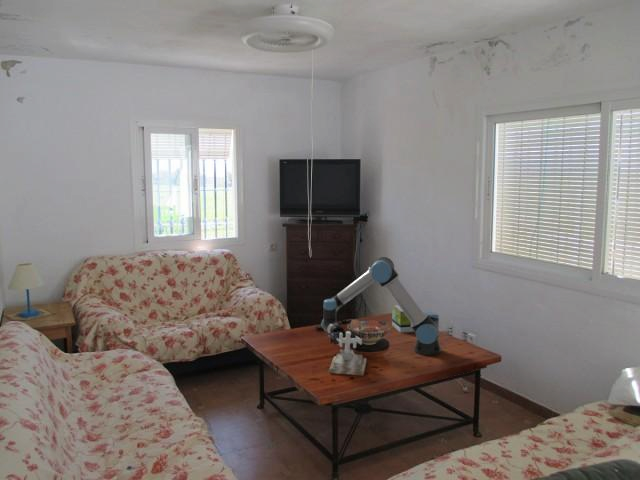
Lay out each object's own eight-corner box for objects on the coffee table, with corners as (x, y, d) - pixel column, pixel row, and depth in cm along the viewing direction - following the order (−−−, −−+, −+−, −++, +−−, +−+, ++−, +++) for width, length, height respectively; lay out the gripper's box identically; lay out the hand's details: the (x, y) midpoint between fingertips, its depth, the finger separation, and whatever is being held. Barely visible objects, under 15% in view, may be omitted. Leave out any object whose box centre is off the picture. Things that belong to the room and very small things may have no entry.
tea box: (391, 326, 351) (391, 305, 349) (405, 325, 354) (405, 304, 352) (400, 333, 337) (400, 311, 335) (414, 331, 339) (414, 310, 337)
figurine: (356, 361, 275) (358, 334, 272) (338, 361, 274) (340, 334, 272) (354, 356, 282) (356, 329, 280) (337, 355, 281) (338, 329, 279)
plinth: (366, 362, 286) (366, 353, 286) (363, 375, 269) (363, 366, 268) (334, 360, 289) (334, 351, 289) (329, 373, 272) (329, 363, 271)
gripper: (354, 335, 298) (371, 347, 278) (316, 339, 290) (331, 352, 270) (354, 322, 297) (371, 334, 276) (316, 326, 289) (331, 339, 269)
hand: (351, 343), depth 273 cm, fingers open, 11 cm apart
